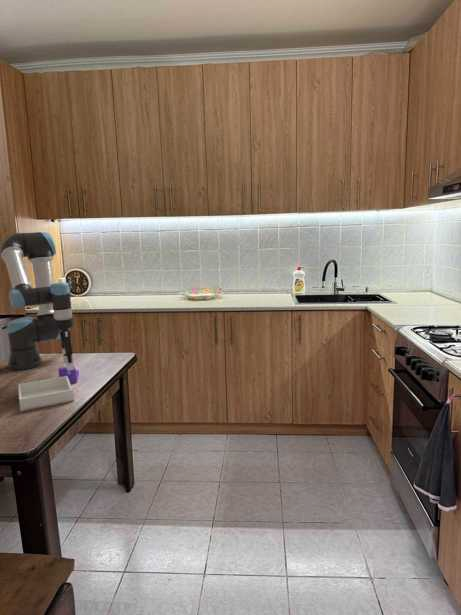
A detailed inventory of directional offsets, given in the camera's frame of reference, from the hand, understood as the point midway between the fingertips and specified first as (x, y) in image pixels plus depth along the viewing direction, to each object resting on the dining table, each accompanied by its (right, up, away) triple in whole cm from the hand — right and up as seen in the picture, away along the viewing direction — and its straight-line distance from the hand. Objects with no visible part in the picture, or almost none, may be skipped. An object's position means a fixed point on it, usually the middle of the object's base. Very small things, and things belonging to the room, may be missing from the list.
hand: (68, 366), depth 194 cm
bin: (-2, -10, -20) cm, 22 cm away
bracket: (0, -6, +1) cm, 6 cm away
